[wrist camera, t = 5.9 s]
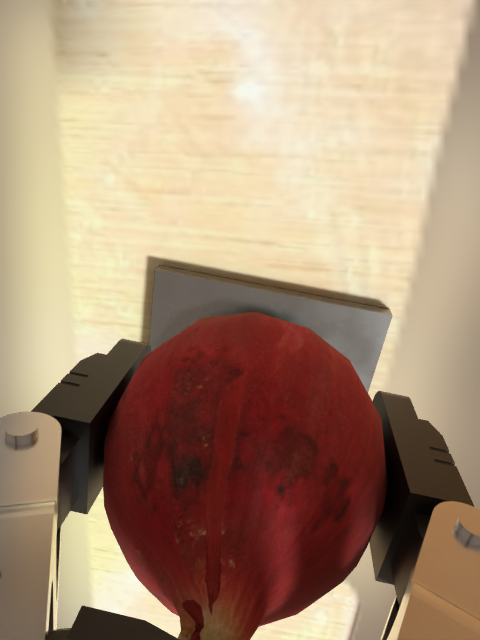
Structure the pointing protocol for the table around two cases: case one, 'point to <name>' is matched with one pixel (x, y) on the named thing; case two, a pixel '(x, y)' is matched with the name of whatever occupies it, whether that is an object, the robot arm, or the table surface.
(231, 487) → the onion
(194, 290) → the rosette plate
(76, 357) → the table surface
